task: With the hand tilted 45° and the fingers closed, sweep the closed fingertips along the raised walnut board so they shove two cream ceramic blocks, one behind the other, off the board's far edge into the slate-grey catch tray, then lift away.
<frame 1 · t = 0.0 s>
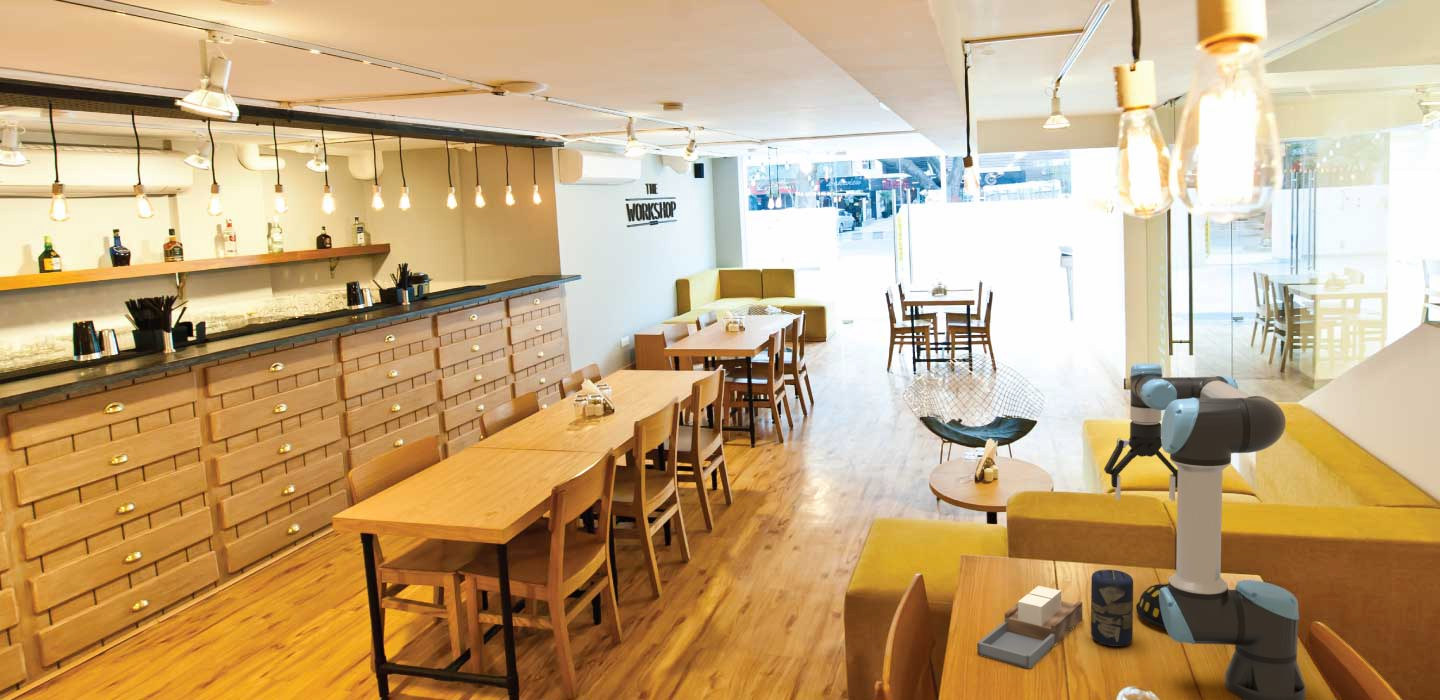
hand: (1144, 499, 250), 28 cm above the table, tool pointing down, fingers open, 13 cm apart
yellow spotted black dome: (1171, 621, 240), on the table
tray: (1016, 650, 228), on the table
canister: (1111, 641, 230), on the table
block b: (1034, 619, 235), point 4 cm above the table, touching board
block a: (1045, 610, 240), point 4 cm above the table, touching board
board: (1043, 626, 240), on the table
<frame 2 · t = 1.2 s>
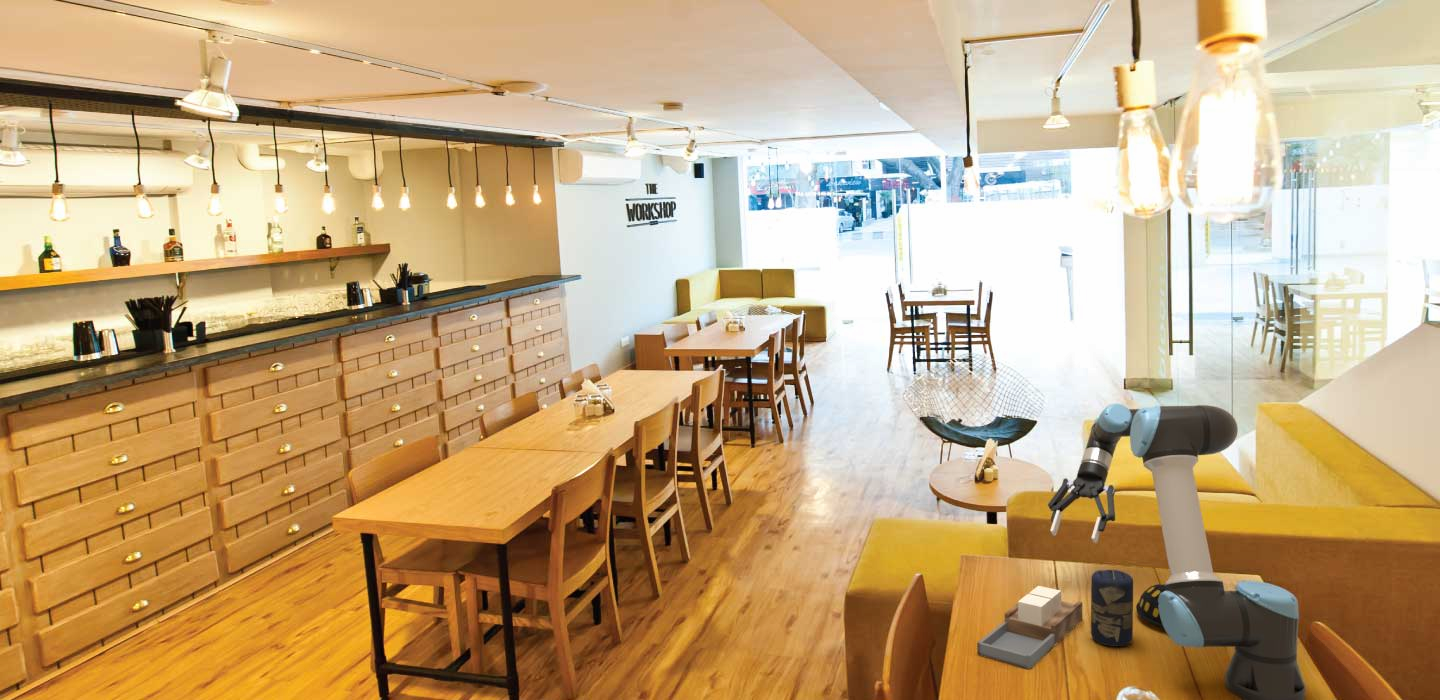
hand: (1073, 536, 252), 18 cm above the table, tool tilted 45°, fingers open, 10 cm apart
nothing on the table moved.
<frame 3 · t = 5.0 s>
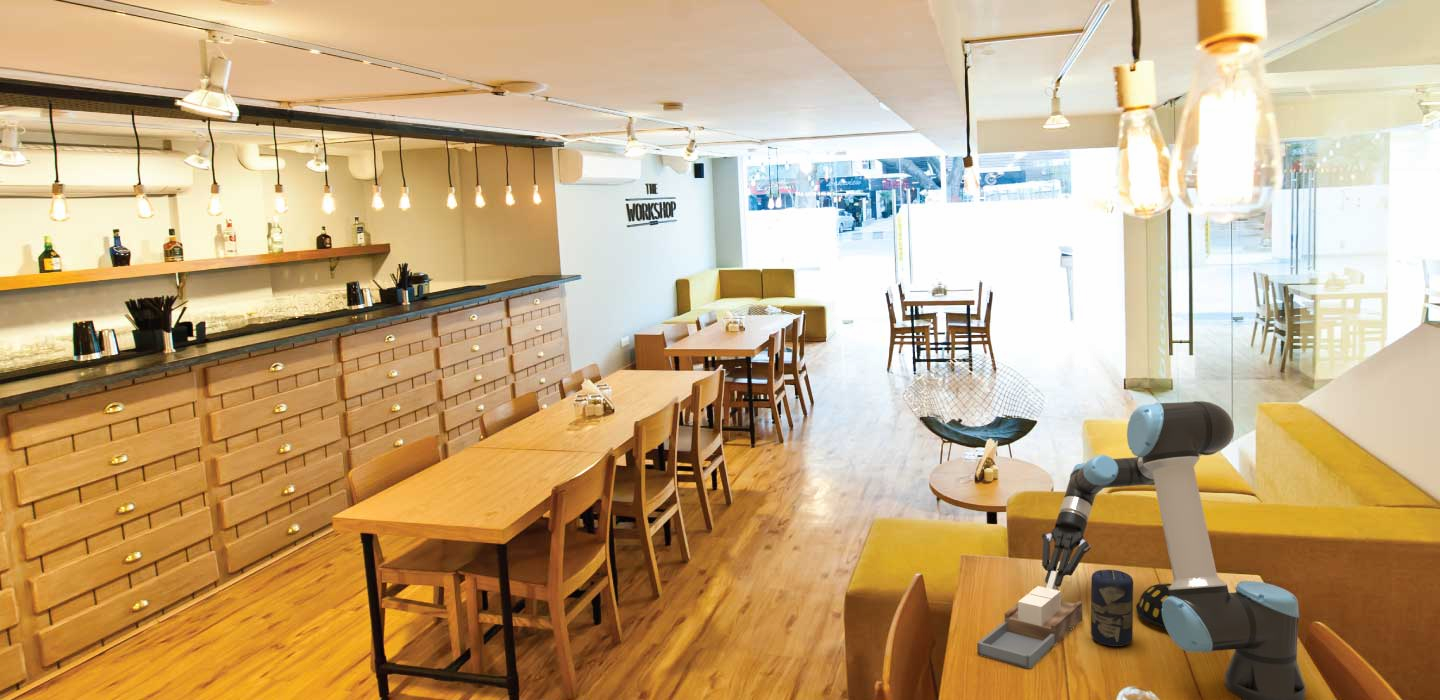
hand: (1048, 595, 243), 6 cm above the table, tool tilted 45°, fingers closed
block a: (1044, 610, 240), point 4 cm above the table, touching board, gripper
everything else where it was.
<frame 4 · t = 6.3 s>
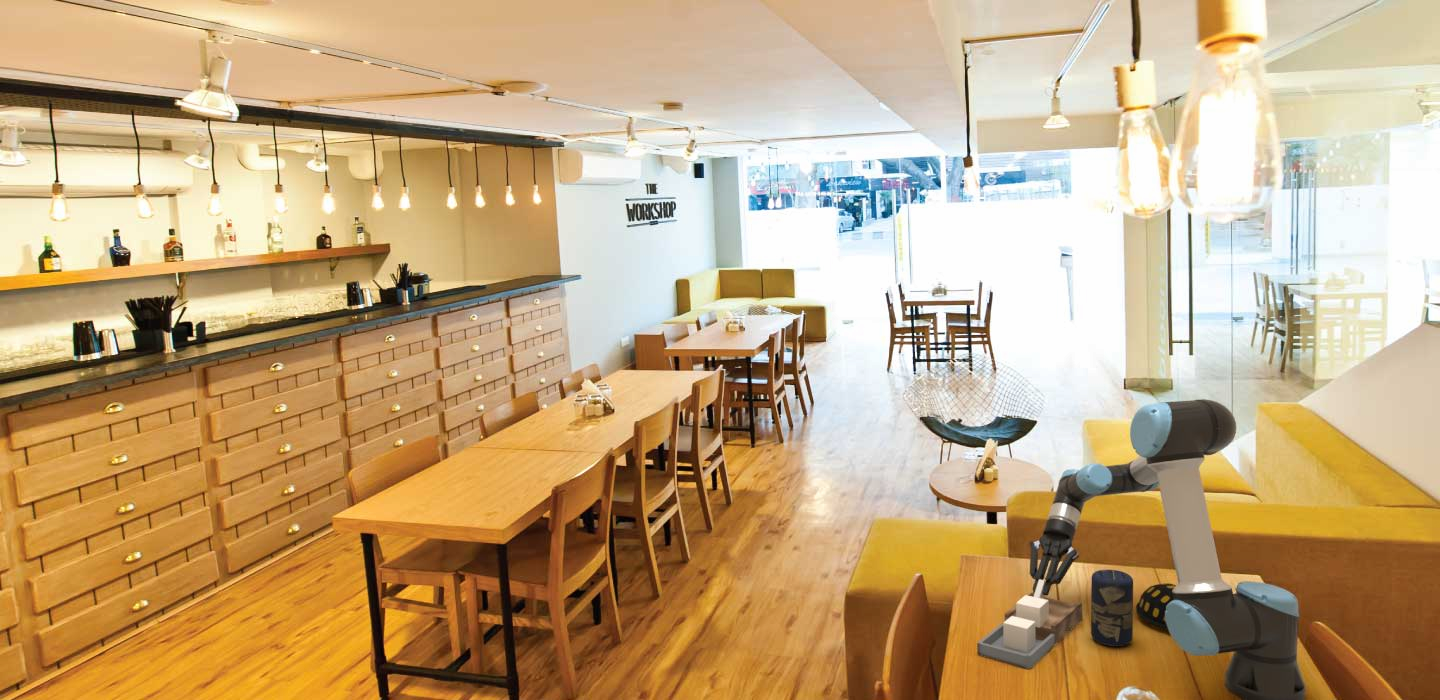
hand: (1036, 605, 238), 6 cm above the table, tool tilted 45°, fingers closed
block b: (1023, 630, 230), point 4 cm above the table, tilted 90°, touching tray
block a: (1032, 620, 235), point 4 cm above the table, touching gripper
everything else where it was.
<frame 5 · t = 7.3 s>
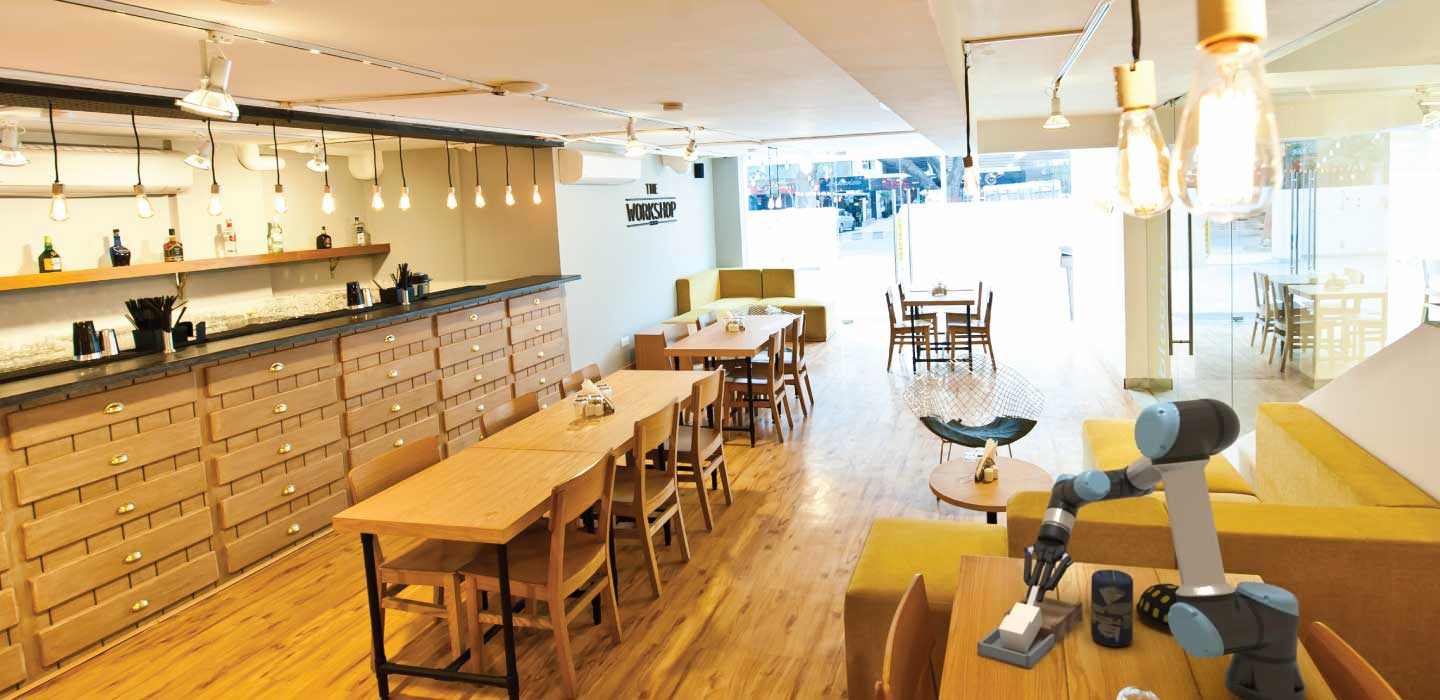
hand: (1029, 612, 234), 6 cm above the table, tool tilted 45°, fingers closed
block b: (1020, 626, 229), point 5 cm above the table, tilted 111°, touching block a
block a: (1026, 628, 232), point 3 cm above the table, tilted 21°, touching block b, gripper
everything else where it was.
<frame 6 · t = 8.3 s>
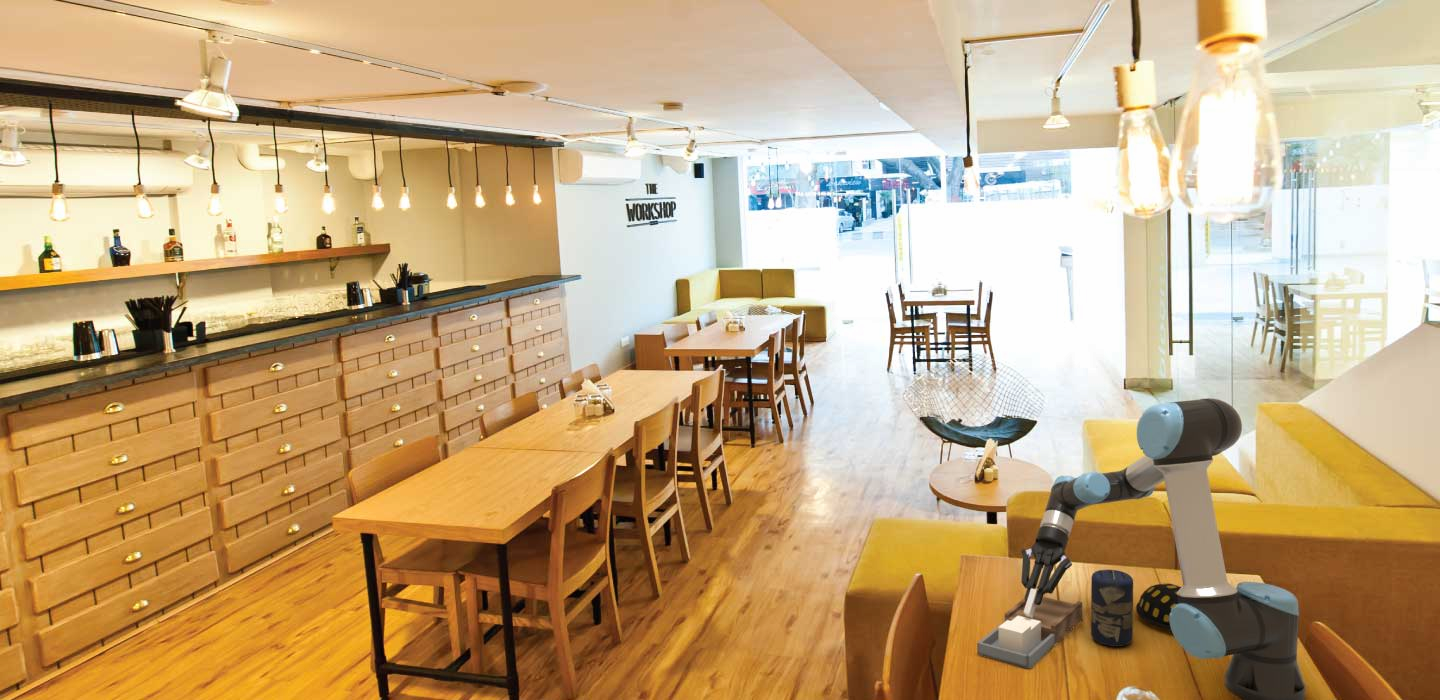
hand: (1028, 614, 232), 7 cm above the table, tool tilted 45°, fingers closed
block b: (1019, 634, 228), point 4 cm above the table, tilted 90°, touching tray
block a: (1024, 641, 231), point 1 cm above the table, touching tray
everything else where it was.
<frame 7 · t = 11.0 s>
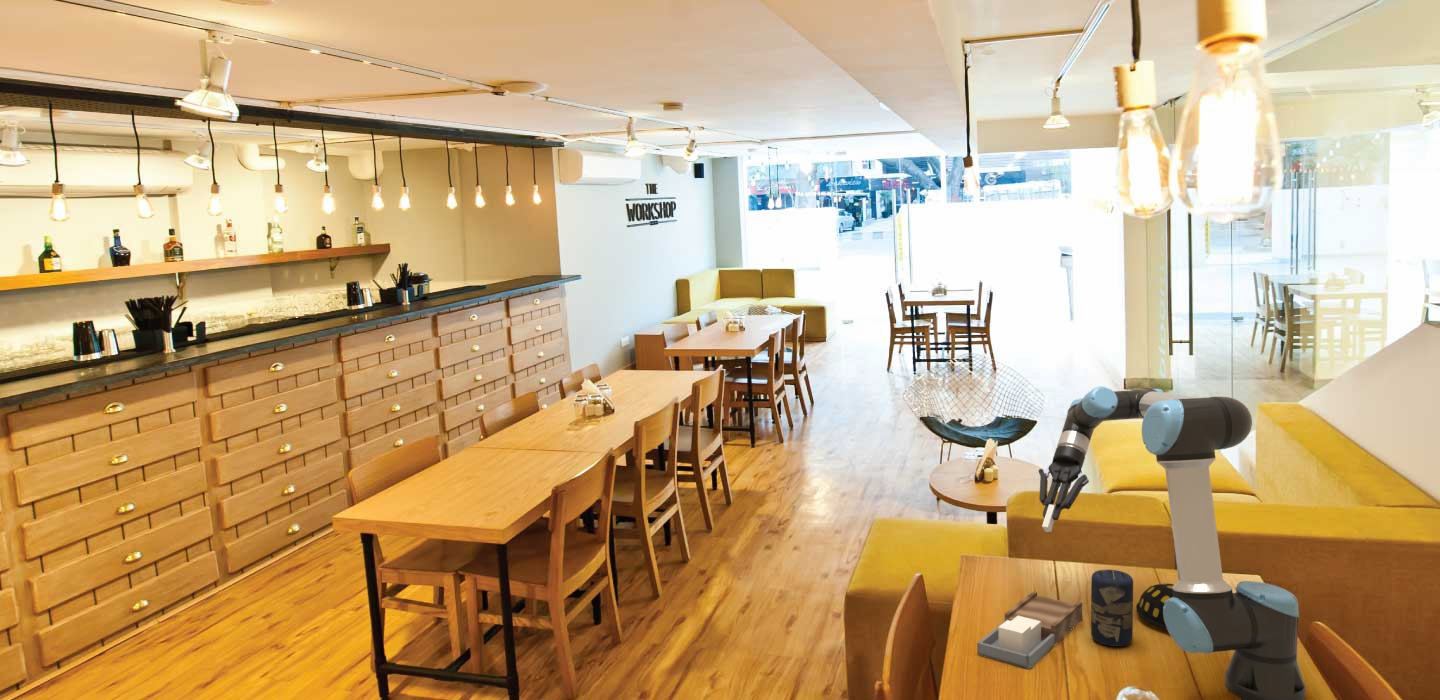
hand: (1046, 529, 238), 25 cm above the table, tool tilted 45°, fingers closed
nothing on the table moved.
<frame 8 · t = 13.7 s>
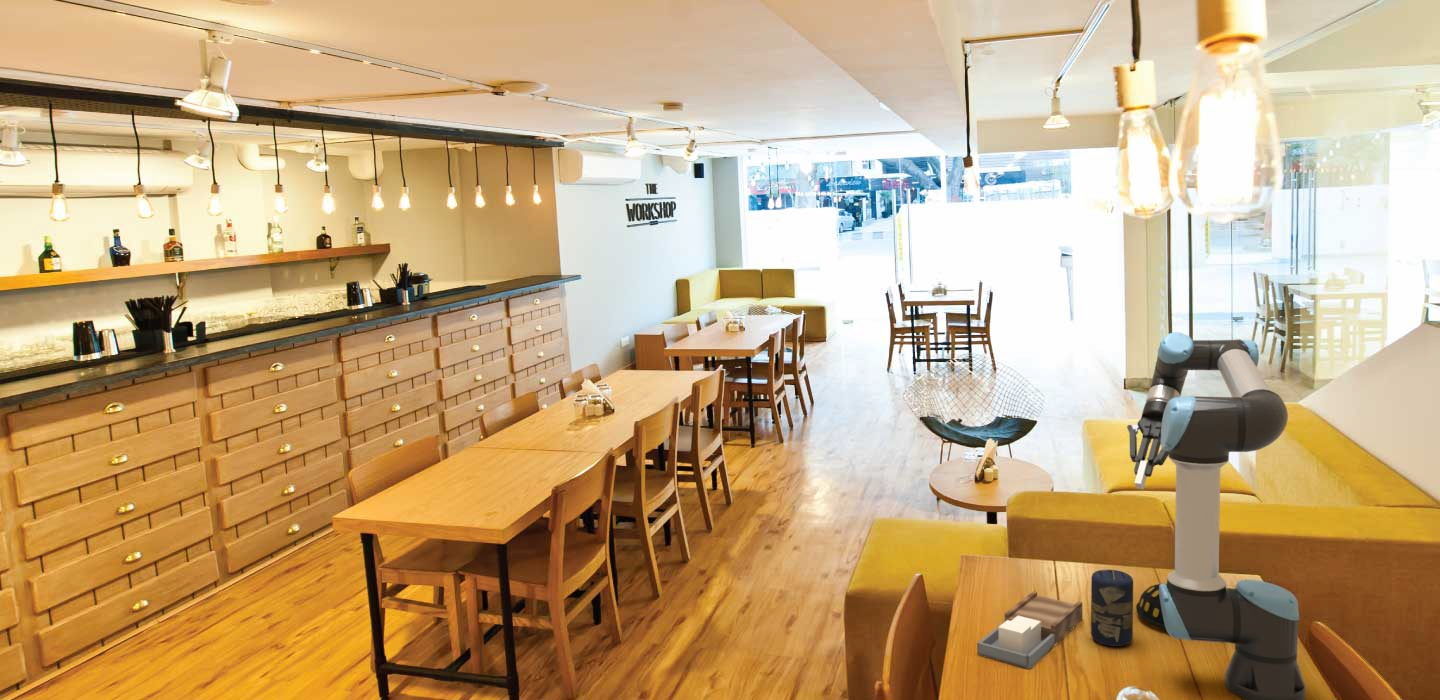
hand: (1138, 486, 228), 38 cm above the table, tool tilted 45°, fingers closed
nothing on the table moved.
at the end: block a 4.4 cm from the tray (horizontally); block b 1.3 cm from the tray (horizontally); block a touching tray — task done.
